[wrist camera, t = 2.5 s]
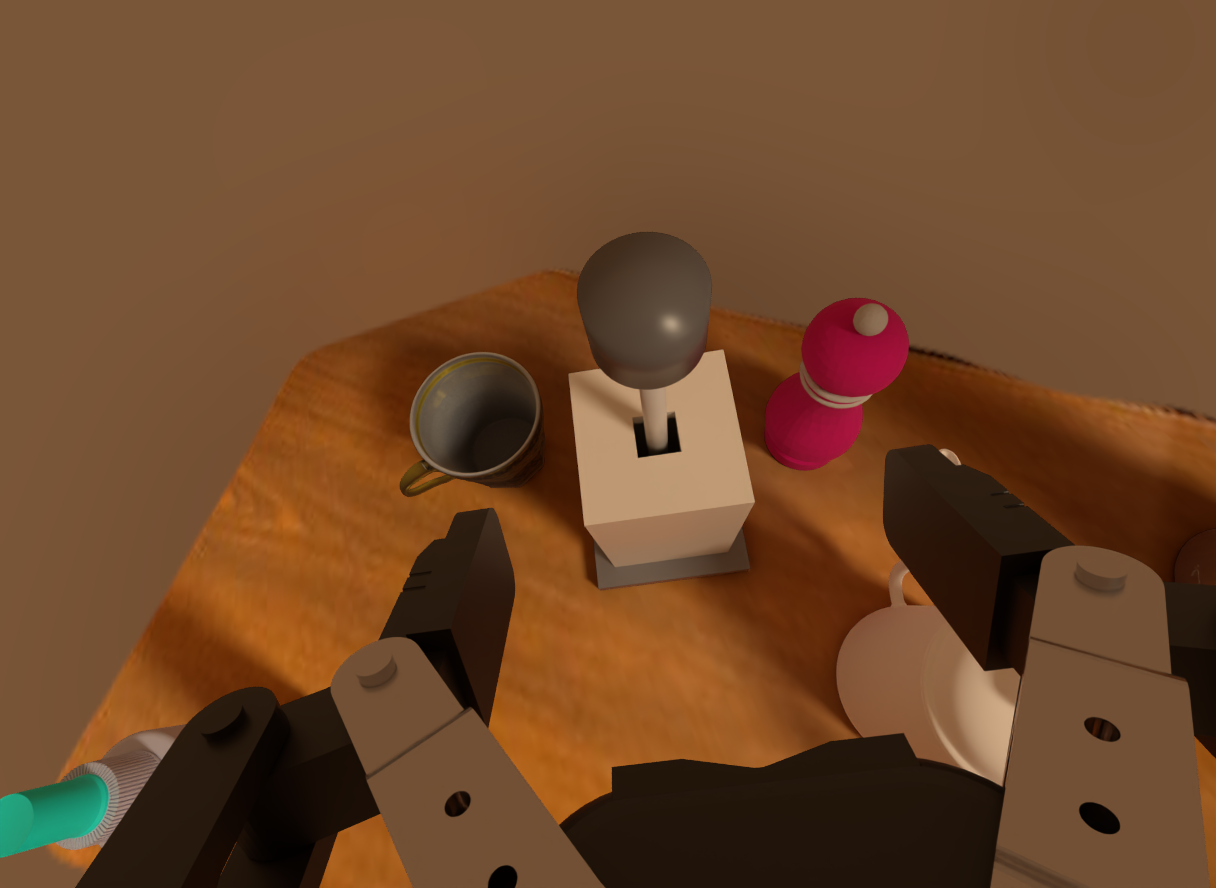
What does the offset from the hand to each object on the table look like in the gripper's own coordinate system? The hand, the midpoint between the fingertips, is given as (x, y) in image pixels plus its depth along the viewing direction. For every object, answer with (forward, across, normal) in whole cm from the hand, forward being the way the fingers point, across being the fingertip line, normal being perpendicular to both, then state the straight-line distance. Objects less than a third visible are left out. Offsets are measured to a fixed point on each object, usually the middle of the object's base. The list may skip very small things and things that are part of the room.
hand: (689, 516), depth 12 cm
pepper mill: (+36, -13, +17) cm, 42 cm away
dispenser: (+32, 0, +20) cm, 38 cm away
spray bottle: (+22, +31, +31) cm, 49 cm away
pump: (+24, 0, +12) cm, 27 cm away
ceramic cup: (+37, +14, +16) cm, 42 cm away
